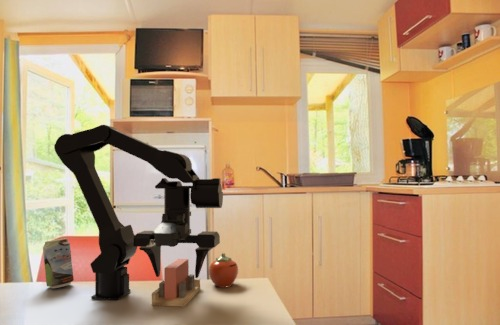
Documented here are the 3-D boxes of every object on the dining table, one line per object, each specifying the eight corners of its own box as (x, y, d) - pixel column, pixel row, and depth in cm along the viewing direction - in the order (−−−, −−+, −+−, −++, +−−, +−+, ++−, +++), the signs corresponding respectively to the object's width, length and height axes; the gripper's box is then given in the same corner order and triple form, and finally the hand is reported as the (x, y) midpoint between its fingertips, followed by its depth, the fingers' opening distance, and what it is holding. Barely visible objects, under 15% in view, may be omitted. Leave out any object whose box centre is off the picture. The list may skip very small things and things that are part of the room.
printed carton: (62, 291, 89) (62, 241, 90) (36, 289, 91) (36, 240, 91) (79, 283, 95) (79, 236, 96) (54, 282, 97) (54, 236, 97)
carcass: (151, 305, 79) (151, 286, 79) (171, 288, 91) (171, 271, 91) (184, 306, 78) (184, 287, 78) (200, 289, 90) (200, 272, 90)
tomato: (231, 290, 88) (230, 256, 89) (203, 287, 91) (203, 254, 91) (242, 282, 95) (242, 251, 96) (216, 279, 98) (216, 249, 98)
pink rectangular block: (175, 298, 80) (175, 268, 80) (164, 298, 80) (164, 268, 80) (188, 286, 89) (188, 259, 89) (178, 286, 89) (178, 258, 89)
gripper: (121, 211, 79) (121, 286, 78) (207, 211, 76) (208, 289, 75) (144, 207, 90) (144, 272, 89) (219, 207, 87) (220, 274, 86)
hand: (177, 277), depth 85 cm, fingers open, 9 cm apart
